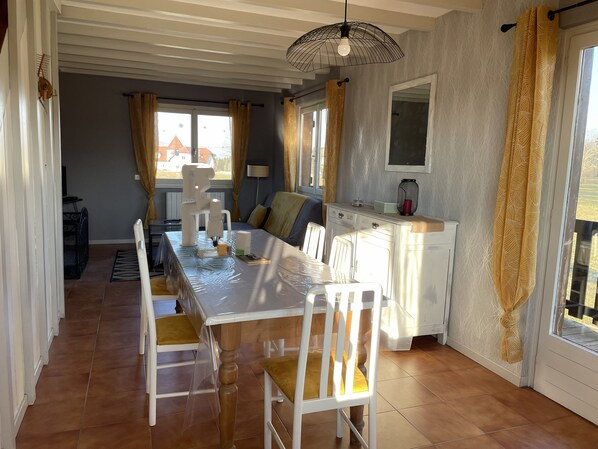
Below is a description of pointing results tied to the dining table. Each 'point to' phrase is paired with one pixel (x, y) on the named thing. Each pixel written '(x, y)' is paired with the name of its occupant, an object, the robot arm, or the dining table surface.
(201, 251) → the rail
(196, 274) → the dining table surface
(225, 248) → the sleeve
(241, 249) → the skincare box
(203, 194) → the robot arm
